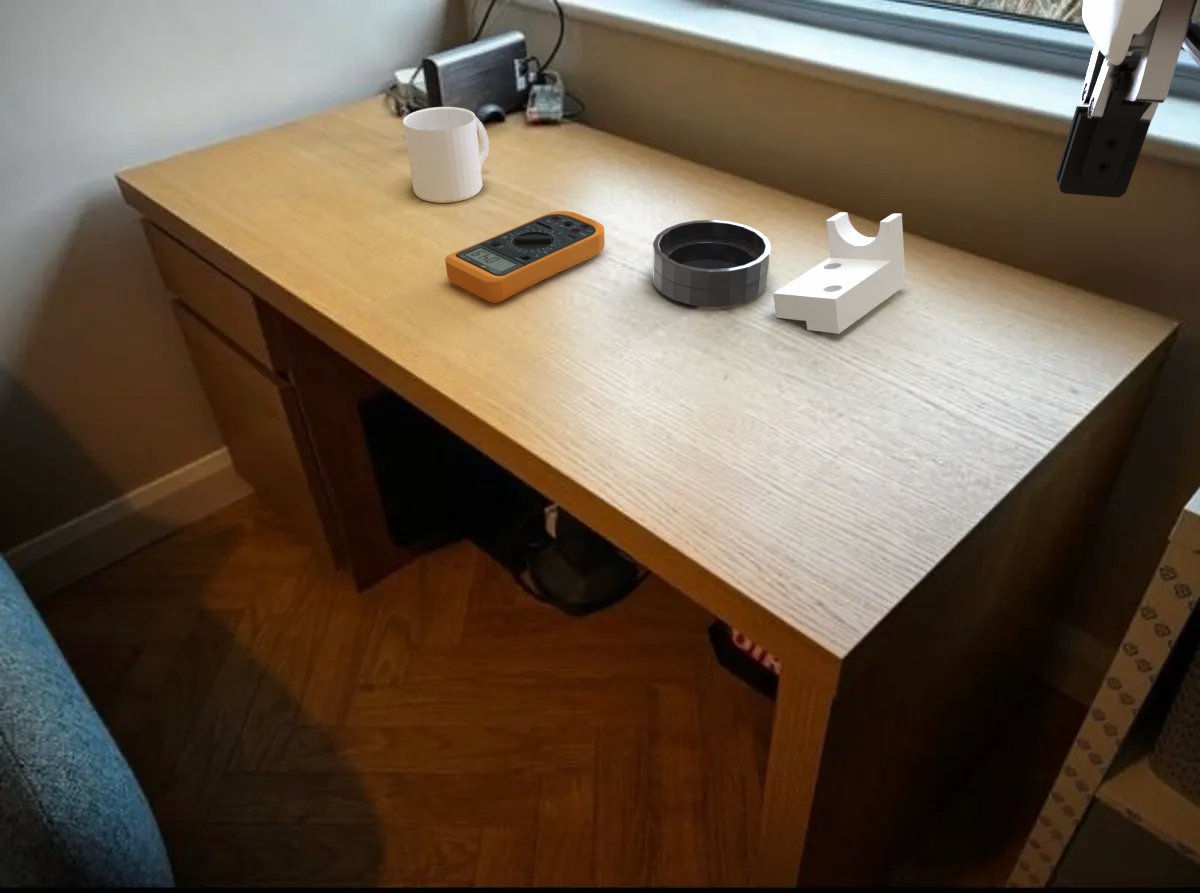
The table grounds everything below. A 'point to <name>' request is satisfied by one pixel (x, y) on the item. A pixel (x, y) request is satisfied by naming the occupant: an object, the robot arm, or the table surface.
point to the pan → (711, 263)
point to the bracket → (846, 277)
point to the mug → (445, 153)
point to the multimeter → (525, 255)
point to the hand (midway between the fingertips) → (1088, 188)
